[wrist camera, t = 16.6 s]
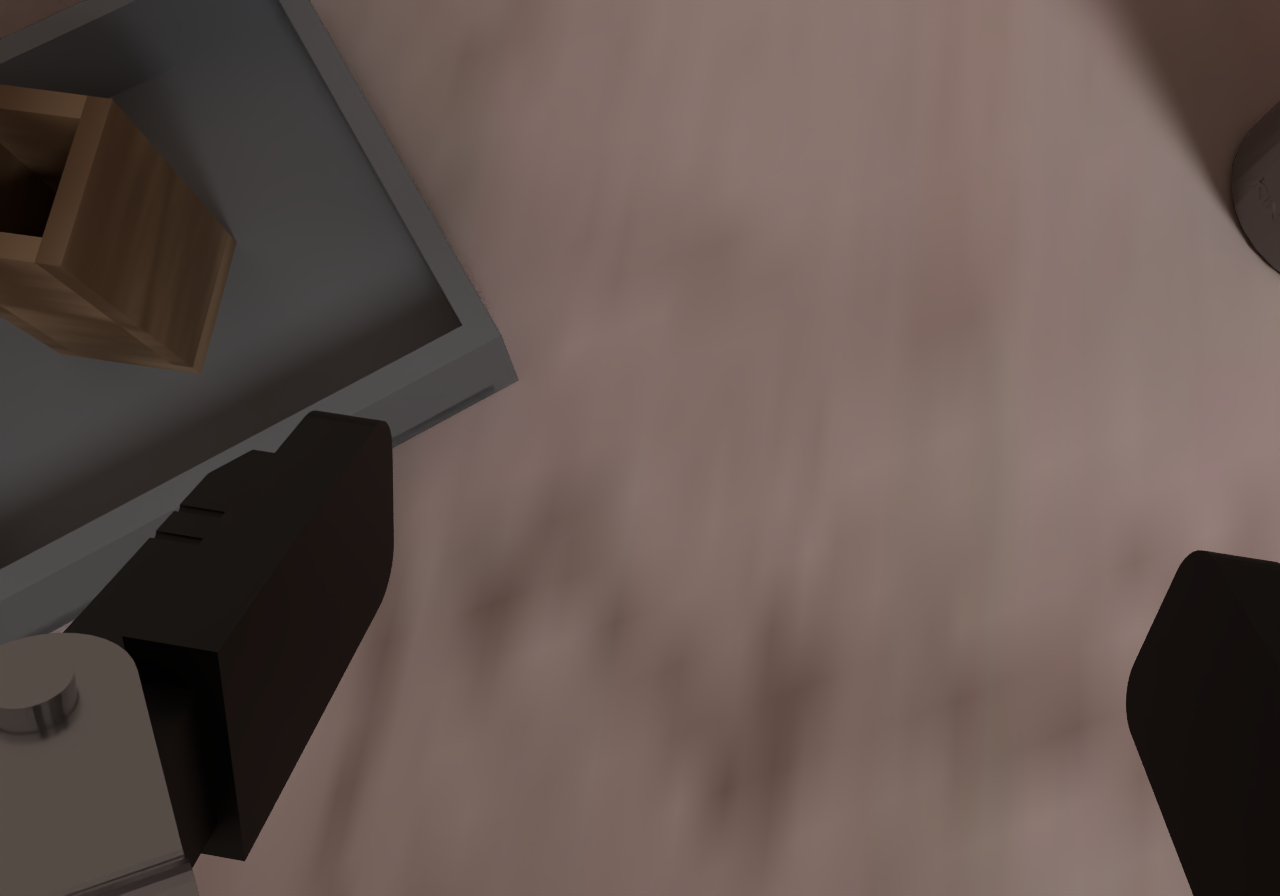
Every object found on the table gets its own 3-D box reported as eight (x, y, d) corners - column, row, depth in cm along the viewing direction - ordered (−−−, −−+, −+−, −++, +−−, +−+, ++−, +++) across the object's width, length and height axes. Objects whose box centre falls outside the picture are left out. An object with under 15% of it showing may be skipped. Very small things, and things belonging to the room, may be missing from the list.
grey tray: (302, 2, 46) (262, -83, 41) (518, 380, 41) (501, 335, 36) (-181, 233, 43) (-286, 171, 38) (-6, 662, 39) (-100, 654, 34)
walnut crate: (236, 242, 42) (112, 98, 32) (201, 374, 40) (60, 265, 31) (101, 224, 42) (-63, 75, 32) (61, 354, 41) (-122, 240, 31)
